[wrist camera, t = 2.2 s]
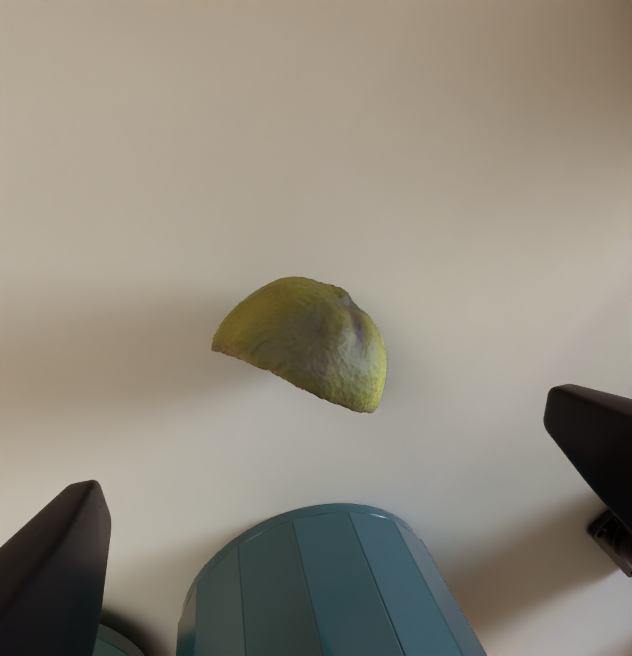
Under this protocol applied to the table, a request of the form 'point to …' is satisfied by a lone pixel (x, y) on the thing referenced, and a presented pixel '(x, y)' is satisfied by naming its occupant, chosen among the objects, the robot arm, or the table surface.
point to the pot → (324, 591)
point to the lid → (114, 644)
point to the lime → (309, 341)
